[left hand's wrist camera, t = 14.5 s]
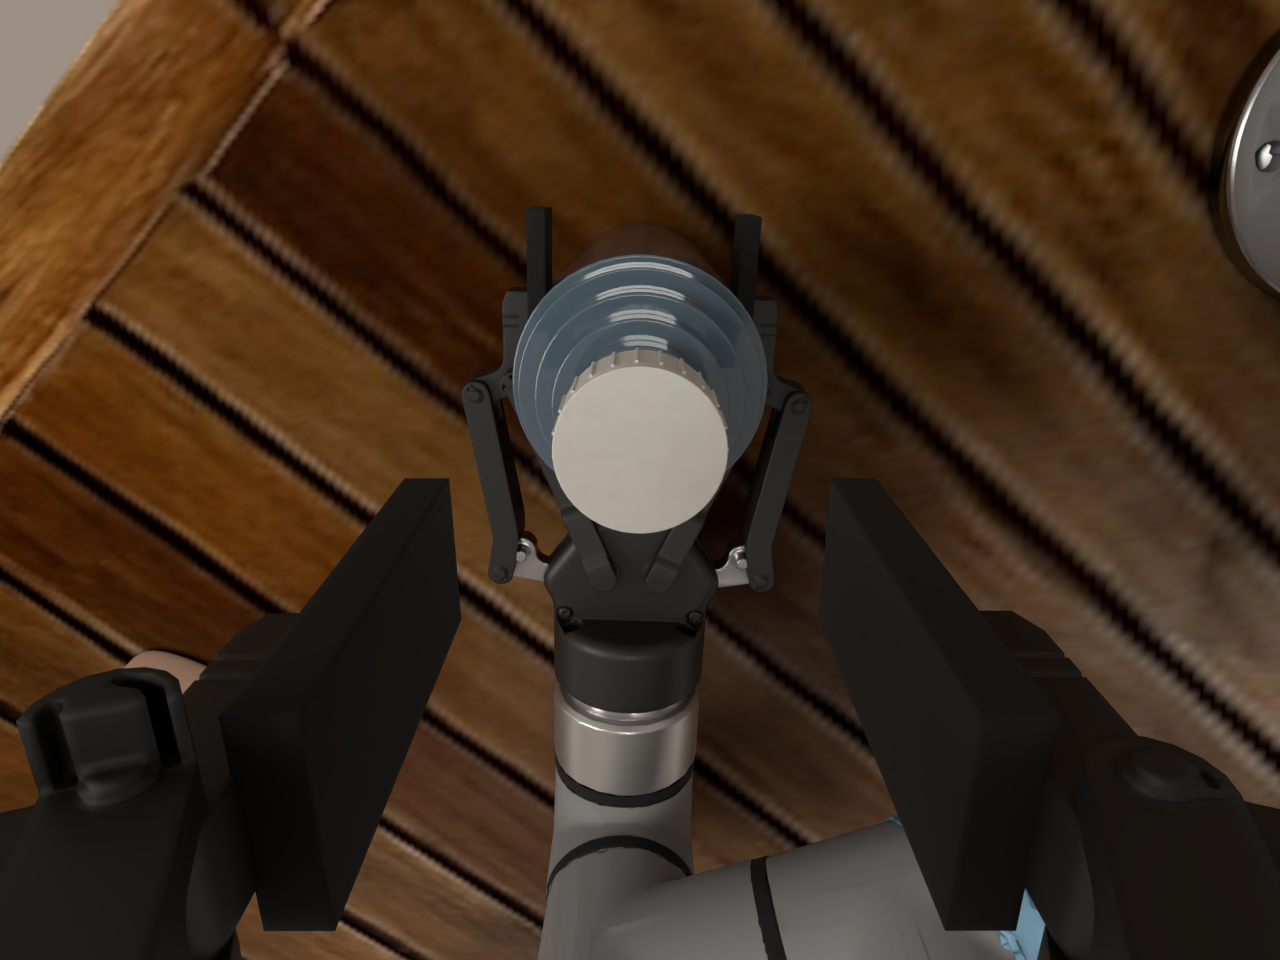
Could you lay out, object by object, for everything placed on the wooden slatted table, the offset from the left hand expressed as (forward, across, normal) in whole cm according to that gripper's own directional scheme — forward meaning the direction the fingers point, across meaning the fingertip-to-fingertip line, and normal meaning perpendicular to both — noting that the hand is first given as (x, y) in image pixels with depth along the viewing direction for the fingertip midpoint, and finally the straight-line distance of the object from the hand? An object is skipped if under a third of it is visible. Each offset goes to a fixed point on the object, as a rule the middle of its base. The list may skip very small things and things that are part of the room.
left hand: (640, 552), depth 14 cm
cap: (+6, 0, 0) cm, 6 cm away
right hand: (+23, 0, -5) cm, 24 cm away
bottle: (+29, 0, 0) cm, 29 cm away
